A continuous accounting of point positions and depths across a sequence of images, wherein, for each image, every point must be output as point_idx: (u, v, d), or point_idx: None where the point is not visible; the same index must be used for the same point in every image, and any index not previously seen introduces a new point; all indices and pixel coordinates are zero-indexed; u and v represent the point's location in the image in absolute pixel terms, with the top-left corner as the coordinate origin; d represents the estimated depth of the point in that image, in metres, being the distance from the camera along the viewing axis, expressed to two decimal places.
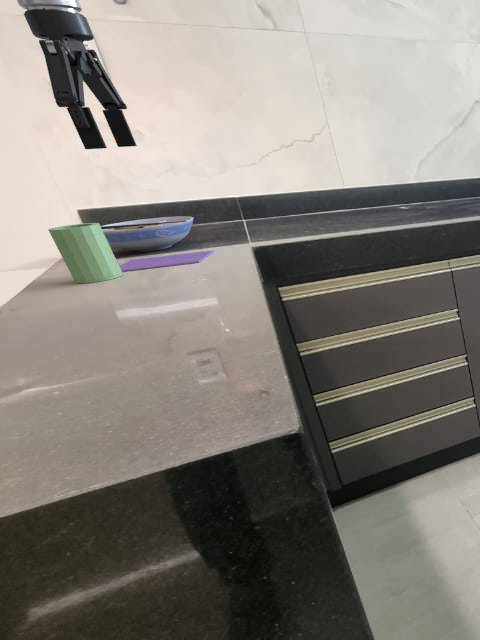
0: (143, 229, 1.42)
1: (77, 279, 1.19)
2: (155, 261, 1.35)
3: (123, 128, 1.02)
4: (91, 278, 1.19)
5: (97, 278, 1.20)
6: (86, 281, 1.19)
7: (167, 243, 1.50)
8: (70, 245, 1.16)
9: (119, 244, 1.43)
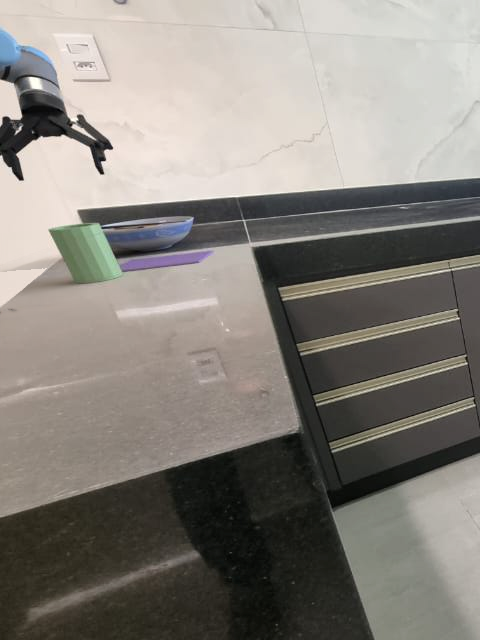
0: (143, 229, 1.42)
1: (77, 279, 1.19)
2: (155, 261, 1.35)
3: (19, 167, 1.19)
4: (91, 278, 1.19)
5: (97, 278, 1.20)
6: (86, 281, 1.19)
7: (167, 243, 1.50)
8: (70, 245, 1.16)
9: (119, 244, 1.43)
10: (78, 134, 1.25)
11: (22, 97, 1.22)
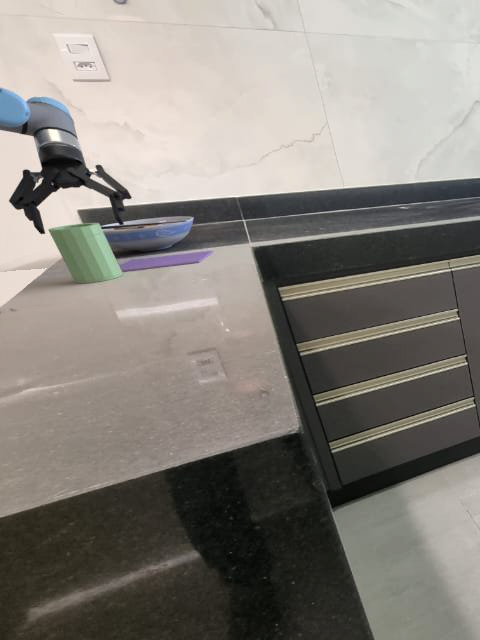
0: (143, 229, 1.42)
1: (77, 279, 1.19)
2: (155, 261, 1.35)
3: (40, 220, 1.20)
4: (91, 278, 1.19)
5: (97, 278, 1.20)
6: (86, 281, 1.19)
7: (167, 243, 1.50)
8: (70, 245, 1.16)
9: (119, 244, 1.43)
10: (97, 185, 1.26)
11: (42, 150, 1.23)
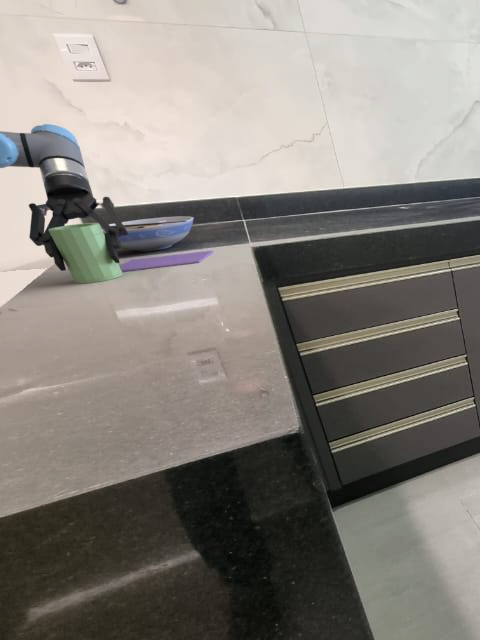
0: (143, 229, 1.42)
1: (77, 279, 1.19)
2: (155, 261, 1.35)
3: (61, 256, 1.18)
4: (91, 278, 1.19)
5: (97, 278, 1.20)
6: (86, 281, 1.19)
7: (167, 243, 1.50)
8: (70, 245, 1.16)
9: None
10: (97, 219, 1.22)
11: (48, 180, 1.20)
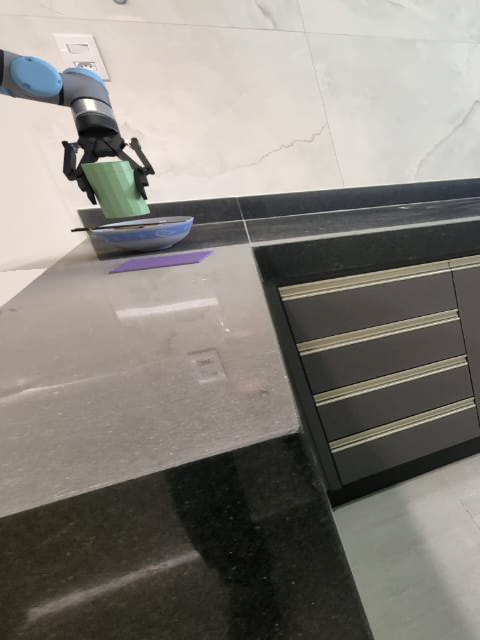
0: (143, 229, 1.42)
1: (107, 214, 1.24)
2: (155, 261, 1.35)
3: (92, 191, 1.23)
4: (121, 213, 1.24)
5: (126, 213, 1.25)
6: (116, 216, 1.24)
7: (167, 243, 1.50)
8: (101, 179, 1.20)
9: (119, 244, 1.43)
10: (126, 158, 1.27)
11: (79, 119, 1.25)
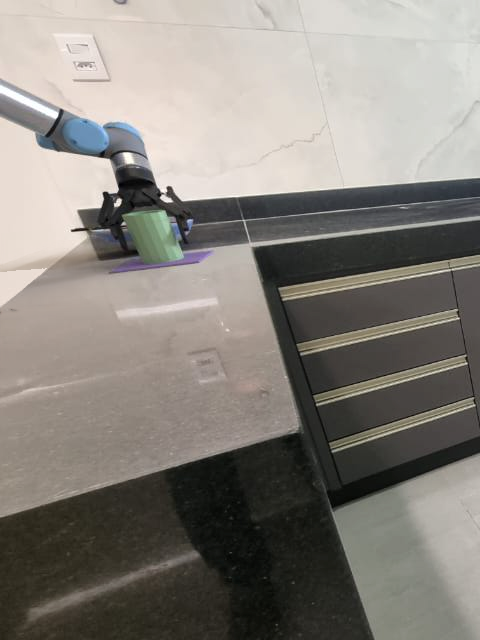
0: None
1: (145, 260, 1.32)
2: None
3: (124, 239, 1.30)
4: (158, 259, 1.32)
5: (163, 260, 1.33)
6: (154, 262, 1.32)
7: None
8: (141, 229, 1.29)
9: (119, 244, 1.43)
10: (166, 206, 1.36)
11: (119, 172, 1.33)
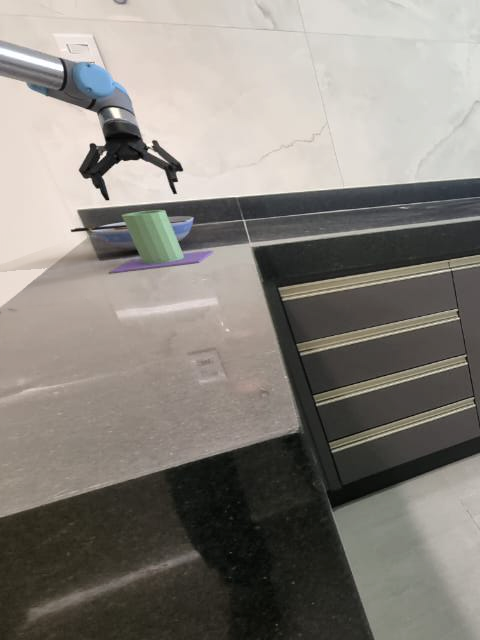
0: None
1: (145, 260, 1.32)
2: None
3: (105, 188, 1.34)
4: (158, 259, 1.32)
5: (163, 260, 1.33)
6: (154, 262, 1.32)
7: None
8: (141, 229, 1.29)
9: (119, 244, 1.43)
10: (154, 158, 1.40)
11: (106, 126, 1.37)
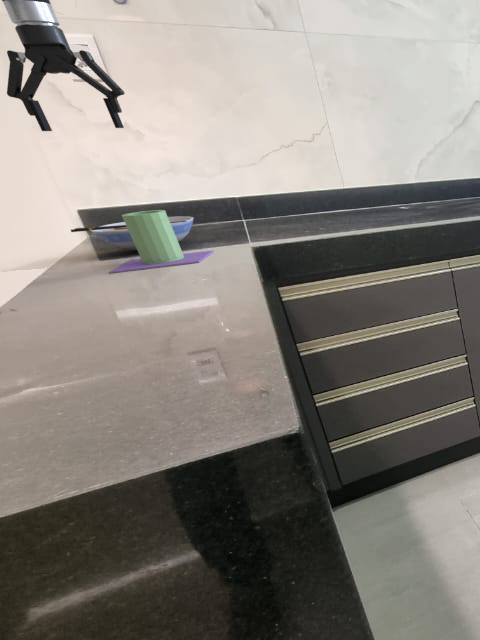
0: None
1: (145, 260, 1.32)
2: None
3: (43, 116, 1.24)
4: (158, 259, 1.32)
5: (163, 260, 1.33)
6: (154, 262, 1.32)
7: None
8: (141, 229, 1.29)
9: (119, 244, 1.43)
10: (88, 81, 1.23)
11: (20, 30, 1.15)
